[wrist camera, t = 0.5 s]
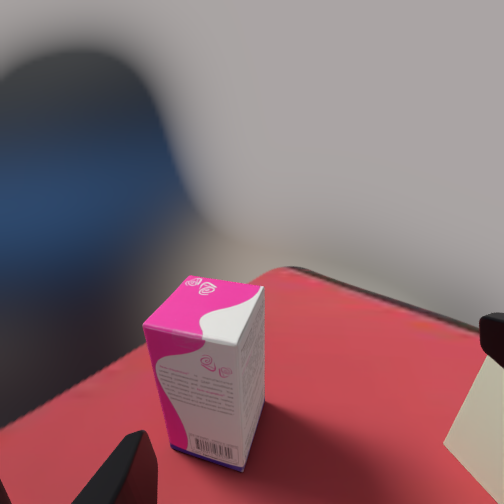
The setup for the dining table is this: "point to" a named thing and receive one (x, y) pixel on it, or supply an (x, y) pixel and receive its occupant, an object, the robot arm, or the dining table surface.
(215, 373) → the supplement box
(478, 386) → the tall block
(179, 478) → the dining table surface
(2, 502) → the dixie cup
